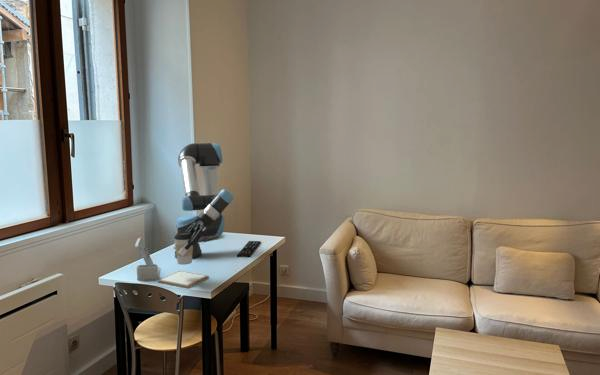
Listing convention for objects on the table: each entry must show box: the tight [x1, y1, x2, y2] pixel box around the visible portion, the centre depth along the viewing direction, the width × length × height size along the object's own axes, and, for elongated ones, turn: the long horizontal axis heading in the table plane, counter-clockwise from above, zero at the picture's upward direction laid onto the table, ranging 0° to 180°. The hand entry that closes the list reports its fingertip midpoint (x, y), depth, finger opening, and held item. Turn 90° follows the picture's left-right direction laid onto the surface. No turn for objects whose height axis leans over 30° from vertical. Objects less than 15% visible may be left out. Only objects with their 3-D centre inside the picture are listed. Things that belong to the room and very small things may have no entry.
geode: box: [198, 236, 218, 243], centre depth 298 cm, size 20×12×10 cm, turn 157°
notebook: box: [157, 270, 209, 289], centre depth 220 cm, size 18×16×1 cm
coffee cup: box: [173, 231, 193, 266], centre depth 218 cm, size 9×9×15 cm
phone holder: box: [134, 237, 161, 281], centre depth 227 cm, size 17×10×18 cm, turn 14°
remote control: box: [236, 240, 262, 258], centre depth 274 cm, size 8×32×2 cm, turn 174°
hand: (177, 251), depth 217 cm, fingers closed on coffee cup, 9 cm apart
